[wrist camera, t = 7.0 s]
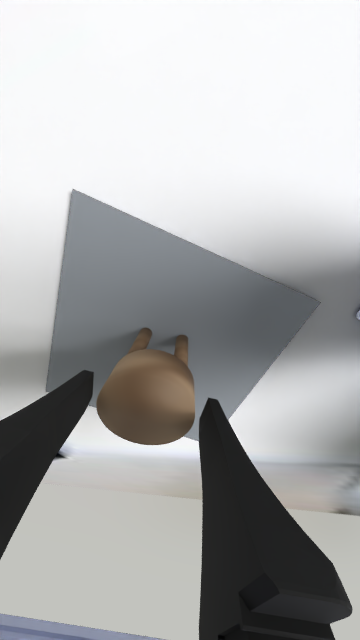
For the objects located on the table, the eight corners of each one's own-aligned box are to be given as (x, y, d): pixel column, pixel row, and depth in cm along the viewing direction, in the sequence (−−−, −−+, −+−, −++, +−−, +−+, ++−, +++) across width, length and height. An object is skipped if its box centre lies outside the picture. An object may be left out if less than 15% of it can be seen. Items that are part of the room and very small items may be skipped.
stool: (199, 329, 14) (206, 385, 9) (186, 381, 16) (184, 451, 11) (132, 316, 14) (95, 365, 9) (128, 370, 16) (96, 436, 11)
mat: (317, 300, 13) (320, 302, 13) (208, 440, 20) (208, 444, 20) (76, 190, 11) (72, 188, 11) (48, 388, 18) (45, 391, 18)
